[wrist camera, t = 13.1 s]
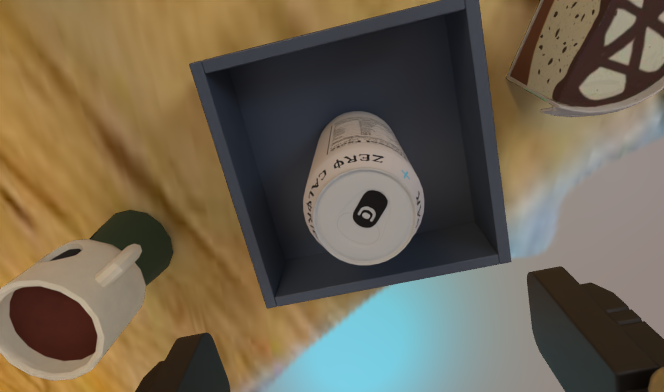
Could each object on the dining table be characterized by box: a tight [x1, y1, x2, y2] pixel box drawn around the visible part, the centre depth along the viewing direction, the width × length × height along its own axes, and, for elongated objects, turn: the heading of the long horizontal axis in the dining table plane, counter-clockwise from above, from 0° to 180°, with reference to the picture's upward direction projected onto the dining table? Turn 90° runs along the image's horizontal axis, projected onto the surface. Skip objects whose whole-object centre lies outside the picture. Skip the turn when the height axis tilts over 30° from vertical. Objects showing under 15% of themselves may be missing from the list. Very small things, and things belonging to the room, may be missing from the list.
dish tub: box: [189, 0, 511, 308], centre depth 33 cm, size 18×18×7 cm
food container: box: [506, 0, 664, 117], centre depth 28 cm, size 12×6×10 cm, turn 161°
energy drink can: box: [303, 111, 424, 265], centre depth 28 cm, size 6×6×15 cm
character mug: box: [0, 210, 173, 381], centre depth 33 cm, size 11×7×13 cm, turn 131°
